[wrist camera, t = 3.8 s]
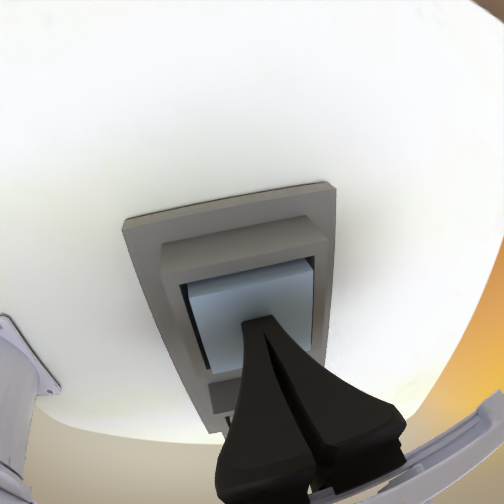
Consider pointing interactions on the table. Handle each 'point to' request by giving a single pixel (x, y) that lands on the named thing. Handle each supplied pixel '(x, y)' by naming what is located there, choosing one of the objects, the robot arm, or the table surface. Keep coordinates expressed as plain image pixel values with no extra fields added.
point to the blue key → (251, 308)
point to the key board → (227, 262)
